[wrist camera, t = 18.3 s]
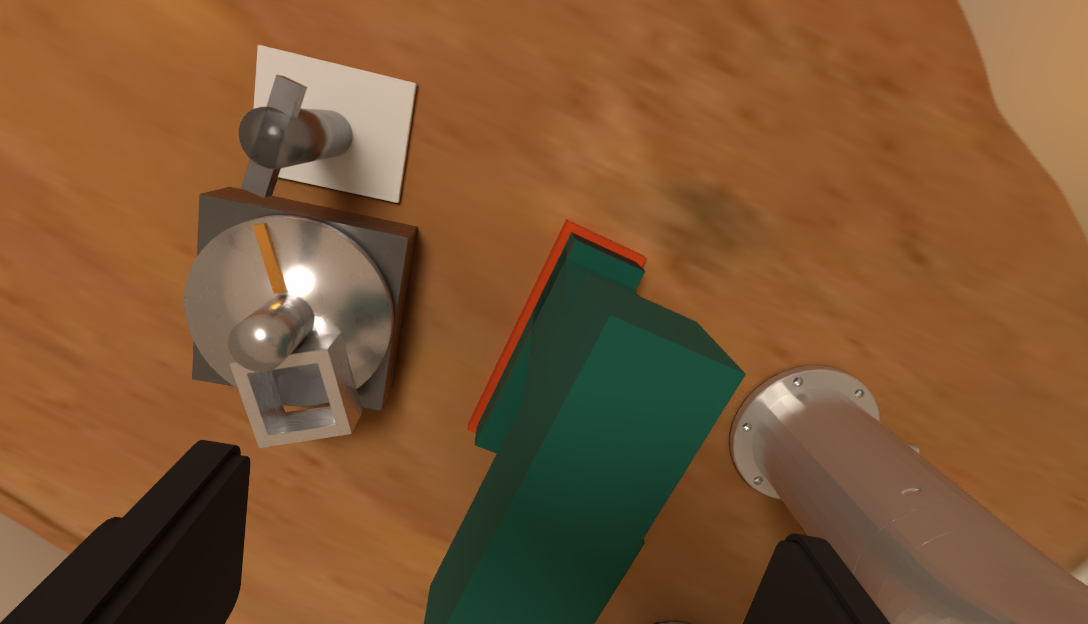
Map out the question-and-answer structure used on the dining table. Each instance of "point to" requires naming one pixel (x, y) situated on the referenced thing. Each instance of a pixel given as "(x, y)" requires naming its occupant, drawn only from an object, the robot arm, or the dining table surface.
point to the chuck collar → (290, 323)
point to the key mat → (370, 110)
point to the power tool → (579, 441)
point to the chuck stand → (373, 235)
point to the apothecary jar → (672, 623)
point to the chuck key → (288, 136)
